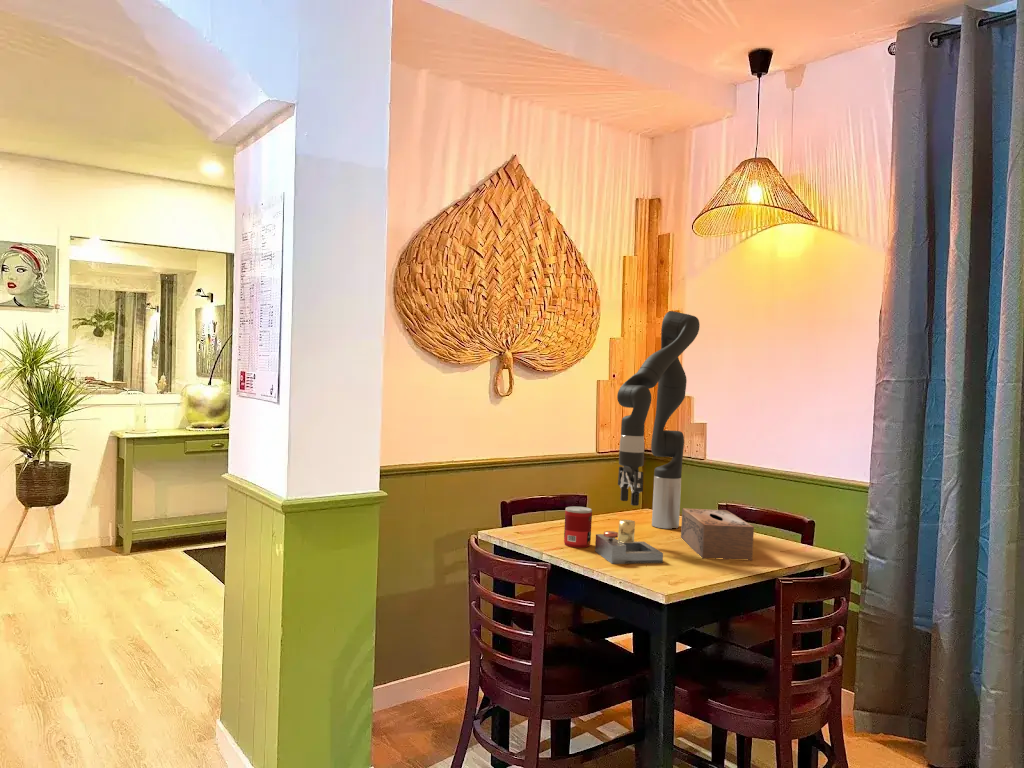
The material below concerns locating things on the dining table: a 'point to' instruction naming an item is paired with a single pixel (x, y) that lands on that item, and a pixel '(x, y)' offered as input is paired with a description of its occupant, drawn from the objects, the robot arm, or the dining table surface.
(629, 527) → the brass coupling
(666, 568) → the dining table surface
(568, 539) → the canned food
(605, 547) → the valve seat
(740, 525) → the tissue box cover
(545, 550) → the dining table surface
